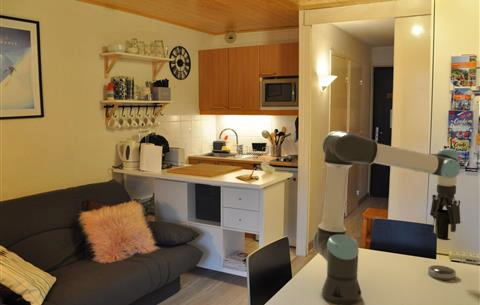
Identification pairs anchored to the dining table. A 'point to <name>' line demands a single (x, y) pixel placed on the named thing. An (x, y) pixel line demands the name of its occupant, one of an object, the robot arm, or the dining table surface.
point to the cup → (442, 224)
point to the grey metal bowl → (441, 272)
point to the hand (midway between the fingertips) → (443, 235)
